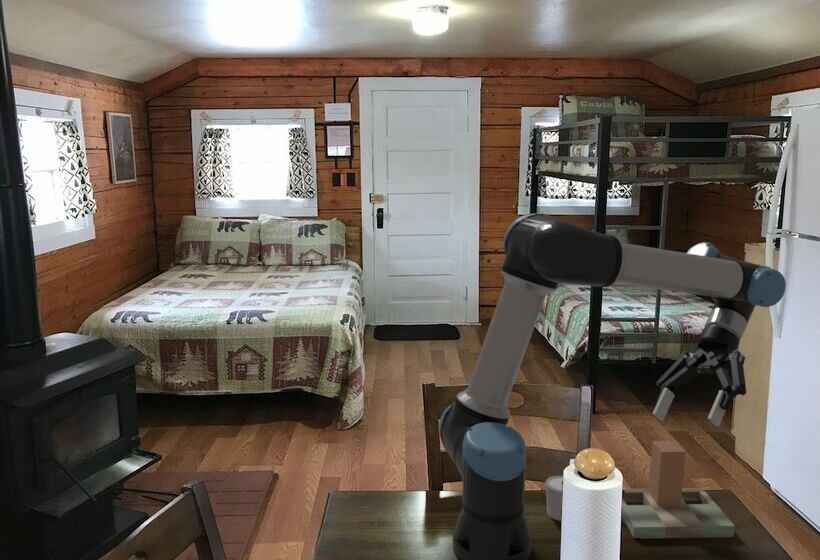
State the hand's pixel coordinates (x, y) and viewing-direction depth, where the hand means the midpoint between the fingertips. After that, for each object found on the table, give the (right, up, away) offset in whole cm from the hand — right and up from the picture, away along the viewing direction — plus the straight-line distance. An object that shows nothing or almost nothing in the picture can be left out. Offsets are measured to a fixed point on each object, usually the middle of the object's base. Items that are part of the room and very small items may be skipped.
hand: (684, 419), depth 136 cm
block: (-1, -18, +8) cm, 20 cm away
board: (-1, -21, +6) cm, 22 cm away
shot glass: (-23, -21, +7) cm, 32 cm away
